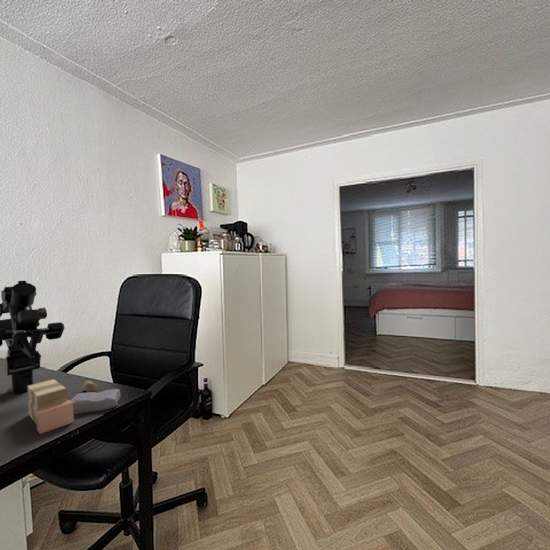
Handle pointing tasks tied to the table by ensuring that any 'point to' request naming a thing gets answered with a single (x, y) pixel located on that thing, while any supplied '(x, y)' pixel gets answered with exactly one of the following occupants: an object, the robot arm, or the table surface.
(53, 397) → the notched wooden block
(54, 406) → the block
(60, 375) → the table surface
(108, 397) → the stone block
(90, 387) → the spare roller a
